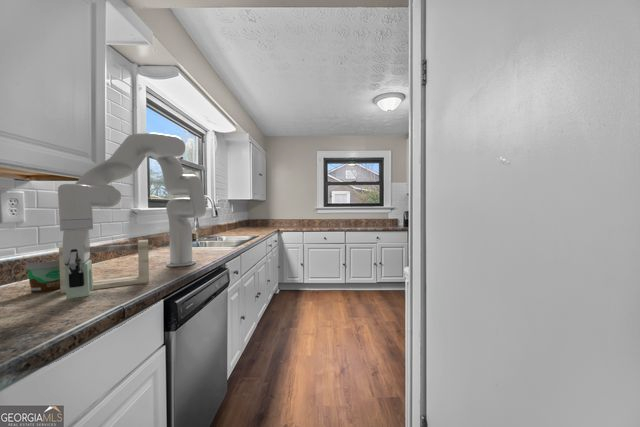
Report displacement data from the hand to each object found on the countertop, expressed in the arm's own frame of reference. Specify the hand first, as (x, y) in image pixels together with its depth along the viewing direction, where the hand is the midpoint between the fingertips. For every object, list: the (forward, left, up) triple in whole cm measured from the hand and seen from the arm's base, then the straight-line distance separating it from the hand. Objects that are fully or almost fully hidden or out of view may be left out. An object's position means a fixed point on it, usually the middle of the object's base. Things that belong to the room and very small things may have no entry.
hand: (79, 282), depth 84 cm
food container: (-17, -9, -5) cm, 20 cm away
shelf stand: (-12, +6, -5) cm, 14 cm away
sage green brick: (0, 0, -3) cm, 3 cm away
